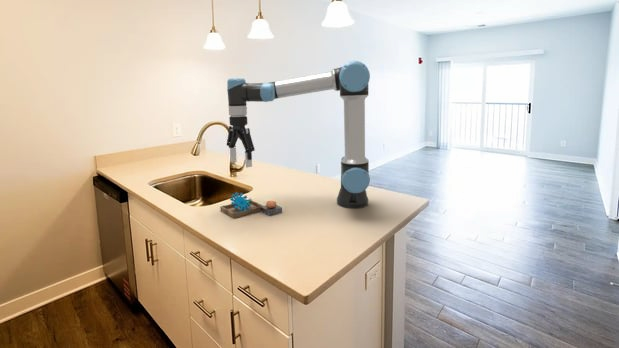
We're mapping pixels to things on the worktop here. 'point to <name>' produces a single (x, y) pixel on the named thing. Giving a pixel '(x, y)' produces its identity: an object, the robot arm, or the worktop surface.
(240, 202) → the gear
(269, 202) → the button
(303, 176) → the worktop surface
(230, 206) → the brown tray
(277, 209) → the block
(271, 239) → the worktop surface
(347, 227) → the worktop surface
